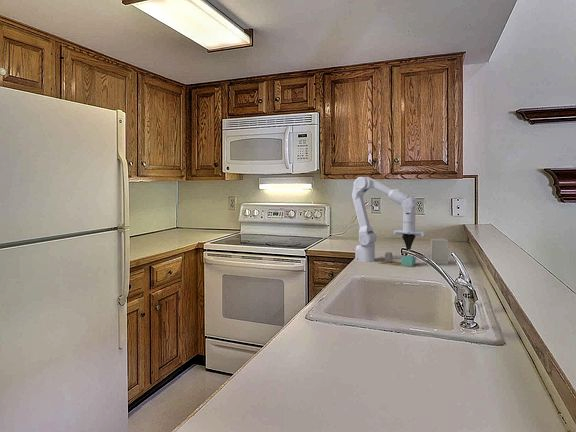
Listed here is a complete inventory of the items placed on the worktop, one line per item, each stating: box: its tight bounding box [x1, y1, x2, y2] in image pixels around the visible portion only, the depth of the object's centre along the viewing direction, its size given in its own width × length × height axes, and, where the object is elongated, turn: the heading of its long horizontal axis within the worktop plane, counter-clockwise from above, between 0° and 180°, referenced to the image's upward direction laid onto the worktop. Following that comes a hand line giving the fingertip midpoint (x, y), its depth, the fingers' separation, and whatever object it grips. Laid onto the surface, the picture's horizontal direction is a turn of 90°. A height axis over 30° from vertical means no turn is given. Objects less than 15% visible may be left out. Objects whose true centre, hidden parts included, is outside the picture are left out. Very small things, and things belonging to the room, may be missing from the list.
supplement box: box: [429, 238, 449, 265], centre depth 195 cm, size 7×7×13 cm
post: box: [384, 251, 393, 263], centre depth 197 cm, size 3×3×5 cm
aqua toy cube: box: [400, 254, 416, 267], centre depth 191 cm, size 5×5×7 cm
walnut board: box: [377, 259, 420, 269], centre depth 194 cm, size 18×9×1 cm, turn 55°
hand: (408, 249), depth 191 cm, fingers closed
